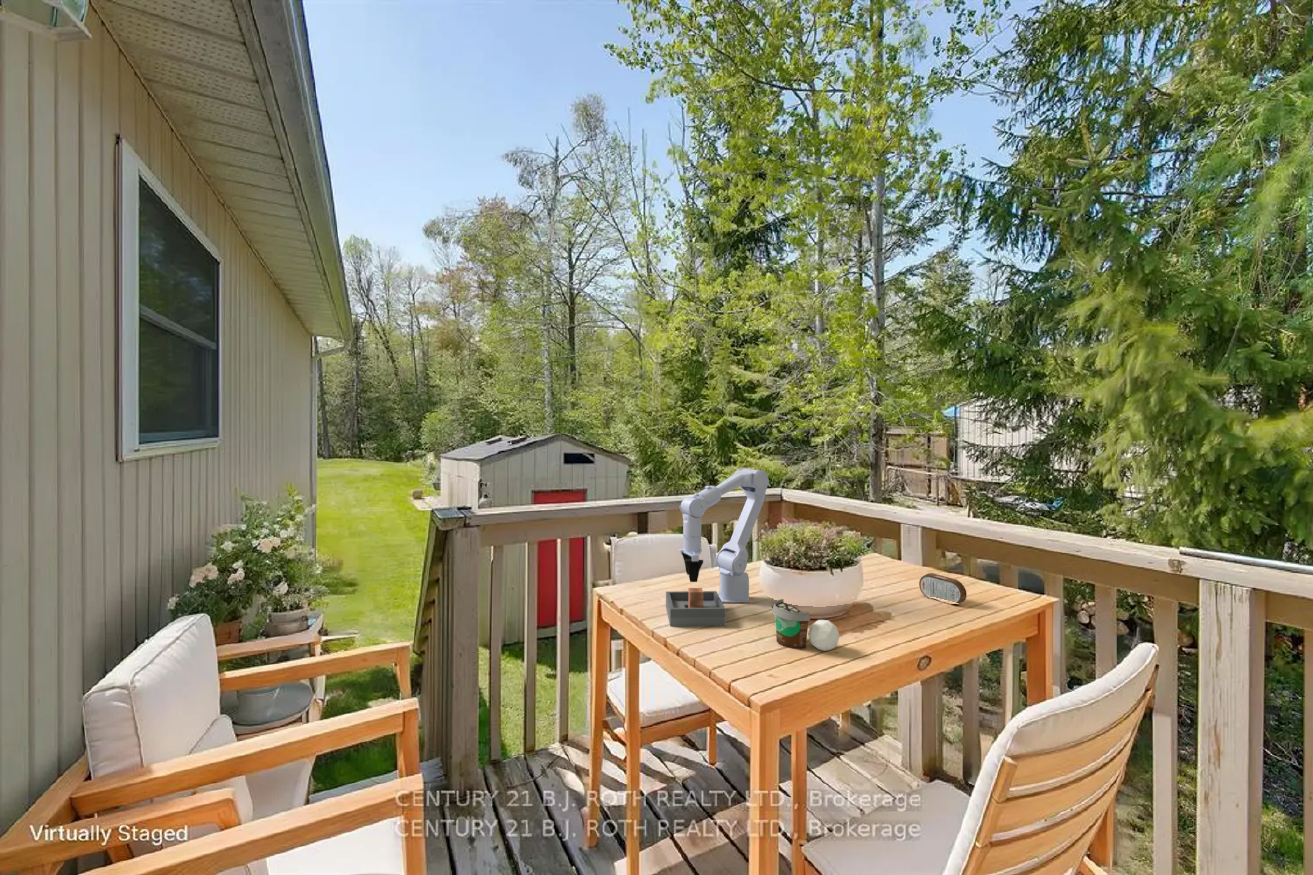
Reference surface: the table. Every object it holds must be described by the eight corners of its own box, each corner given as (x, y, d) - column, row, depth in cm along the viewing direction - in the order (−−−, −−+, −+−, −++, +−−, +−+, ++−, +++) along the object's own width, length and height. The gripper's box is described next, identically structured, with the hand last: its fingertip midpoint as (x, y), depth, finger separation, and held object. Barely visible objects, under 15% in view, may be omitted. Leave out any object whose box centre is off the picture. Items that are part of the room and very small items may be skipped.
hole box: (715, 606, 182) (716, 591, 182) (725, 625, 166) (725, 608, 166) (665, 607, 181) (666, 591, 181) (670, 626, 165) (670, 609, 165)
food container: (762, 636, 159) (763, 600, 158) (781, 633, 161) (782, 598, 160) (789, 654, 147) (790, 615, 147) (809, 650, 150) (810, 612, 149)
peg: (701, 613, 176) (701, 587, 175) (703, 618, 172) (703, 592, 171) (688, 613, 176) (688, 588, 175) (689, 618, 172) (690, 592, 171)
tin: (966, 607, 185) (967, 581, 184) (961, 608, 183) (962, 582, 182) (922, 594, 197) (923, 570, 197) (917, 595, 195) (918, 571, 195)
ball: (818, 655, 153) (817, 625, 157) (846, 653, 148) (843, 622, 152) (803, 648, 149) (802, 617, 153) (831, 645, 144) (829, 613, 148)
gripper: (676, 530, 187) (676, 571, 188) (682, 540, 173) (682, 585, 173) (698, 530, 188) (697, 571, 188) (705, 540, 173) (705, 584, 174)
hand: (691, 577), depth 181 cm, fingers open, 7 cm apart
